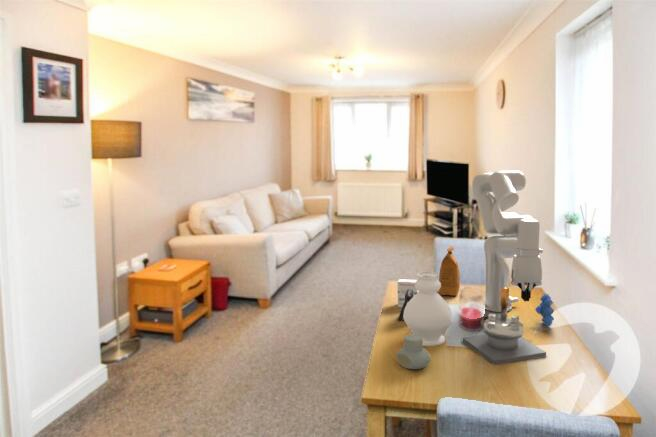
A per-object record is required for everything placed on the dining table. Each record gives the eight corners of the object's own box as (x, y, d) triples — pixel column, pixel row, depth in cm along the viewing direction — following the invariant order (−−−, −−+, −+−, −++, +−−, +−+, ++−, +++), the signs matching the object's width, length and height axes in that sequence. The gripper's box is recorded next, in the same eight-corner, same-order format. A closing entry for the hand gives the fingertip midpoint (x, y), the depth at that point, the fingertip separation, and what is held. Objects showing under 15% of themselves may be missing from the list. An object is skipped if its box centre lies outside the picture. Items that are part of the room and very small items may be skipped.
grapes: (531, 318, 202) (532, 290, 200) (548, 319, 201) (549, 290, 199) (538, 329, 191) (539, 299, 189) (556, 330, 190) (558, 300, 188)
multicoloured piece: (523, 341, 166) (524, 308, 164) (482, 337, 170) (483, 305, 168) (522, 317, 187) (523, 288, 185) (486, 314, 192) (486, 285, 190)
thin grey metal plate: (510, 334, 187) (510, 319, 186) (546, 356, 168) (546, 339, 167) (462, 341, 182) (462, 325, 181) (493, 364, 163) (494, 347, 162)
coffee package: (462, 290, 241) (462, 245, 238) (458, 297, 230) (458, 251, 226) (441, 288, 245) (441, 244, 241) (436, 295, 234) (436, 250, 230)
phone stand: (421, 317, 207) (420, 289, 205) (419, 322, 202) (419, 294, 200) (399, 315, 210) (399, 288, 208) (397, 321, 204) (397, 293, 202)
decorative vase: (398, 345, 180) (398, 279, 176) (409, 327, 196) (408, 266, 192) (448, 352, 174) (449, 283, 170) (455, 333, 190) (455, 269, 186)
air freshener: (434, 367, 162) (434, 339, 161) (416, 375, 158) (416, 345, 156) (410, 356, 171) (410, 329, 170) (392, 363, 166) (392, 335, 165)
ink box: (418, 304, 223) (418, 279, 221) (417, 308, 218) (417, 282, 216) (398, 303, 225) (398, 278, 223) (397, 307, 220) (397, 281, 218)
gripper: (545, 249, 186) (543, 297, 189) (503, 250, 187) (502, 297, 190) (552, 254, 178) (549, 303, 181) (509, 255, 180) (507, 303, 183)
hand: (525, 300), depth 186 cm, fingers closed
